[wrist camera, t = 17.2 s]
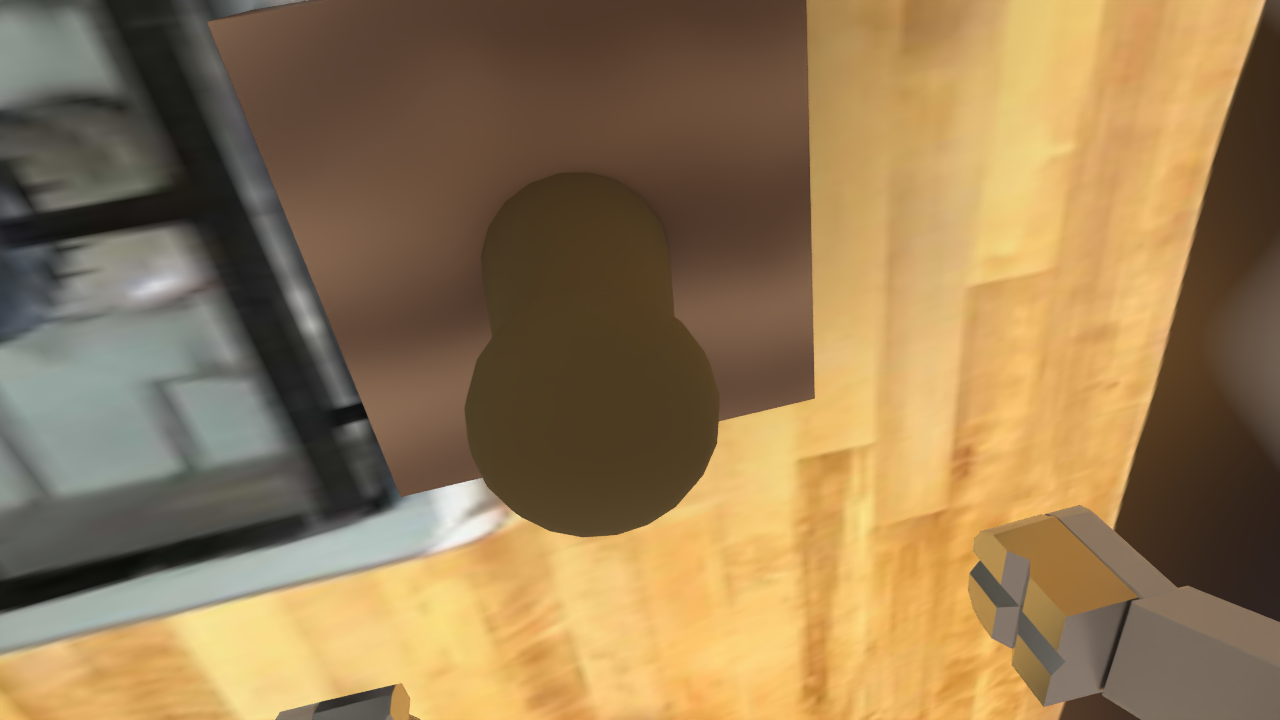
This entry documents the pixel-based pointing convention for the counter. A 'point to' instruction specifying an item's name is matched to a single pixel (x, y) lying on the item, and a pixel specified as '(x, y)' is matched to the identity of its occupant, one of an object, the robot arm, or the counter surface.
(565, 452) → the brown tall round piece
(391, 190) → the block
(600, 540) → the counter surface
